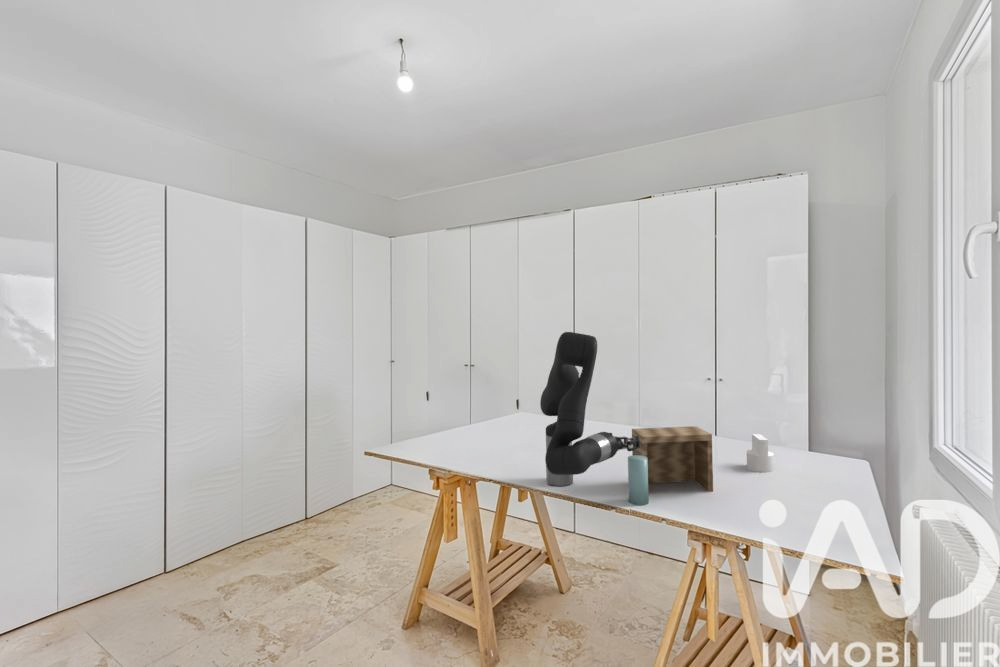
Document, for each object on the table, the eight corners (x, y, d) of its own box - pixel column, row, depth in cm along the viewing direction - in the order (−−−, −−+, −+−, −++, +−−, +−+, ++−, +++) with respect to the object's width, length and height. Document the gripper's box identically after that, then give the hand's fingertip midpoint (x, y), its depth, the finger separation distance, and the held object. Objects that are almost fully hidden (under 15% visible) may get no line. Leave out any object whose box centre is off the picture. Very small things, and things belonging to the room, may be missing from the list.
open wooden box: (643, 494, 159) (642, 437, 159) (633, 482, 171) (631, 428, 171) (713, 491, 160) (711, 434, 159) (697, 479, 172) (696, 426, 171)
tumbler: (632, 505, 150) (630, 461, 150) (626, 498, 156) (625, 455, 156) (651, 504, 150) (650, 460, 150) (645, 497, 156) (644, 454, 156)
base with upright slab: (777, 472, 176) (777, 440, 175) (751, 472, 178) (750, 439, 177) (769, 465, 185) (768, 434, 184) (743, 464, 186) (743, 433, 186)
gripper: (621, 437, 129) (646, 427, 142) (575, 431, 139) (602, 423, 151) (622, 465, 129) (647, 453, 142) (576, 457, 138) (603, 447, 151)
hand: (624, 437), depth 146 cm, fingers open, 8 cm apart
